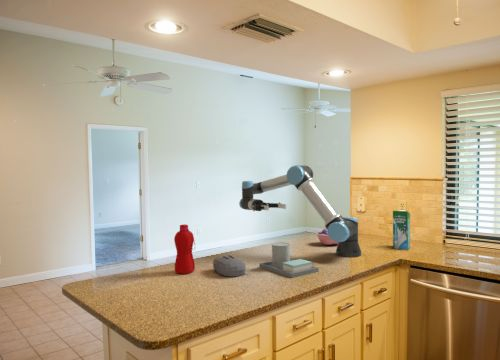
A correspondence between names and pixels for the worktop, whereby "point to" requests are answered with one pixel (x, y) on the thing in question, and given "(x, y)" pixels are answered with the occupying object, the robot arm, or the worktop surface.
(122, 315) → the worktop surface
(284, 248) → the speckled grey can
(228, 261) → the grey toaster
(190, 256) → the water bottle
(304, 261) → the teal sponge
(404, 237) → the milk carton
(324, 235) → the cell model
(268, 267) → the tote tray
